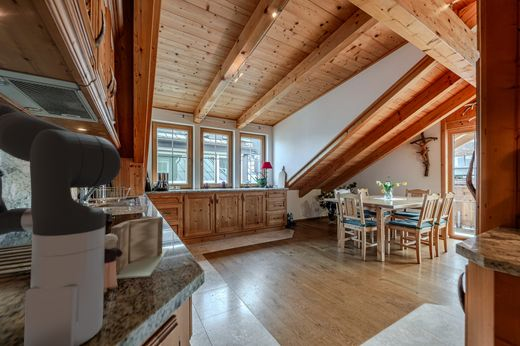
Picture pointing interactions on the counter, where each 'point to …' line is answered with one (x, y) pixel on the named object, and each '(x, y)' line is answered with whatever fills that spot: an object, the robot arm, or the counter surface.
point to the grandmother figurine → (111, 262)
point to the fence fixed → (121, 244)
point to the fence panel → (145, 238)
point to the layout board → (142, 266)
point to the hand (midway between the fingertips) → (110, 216)
